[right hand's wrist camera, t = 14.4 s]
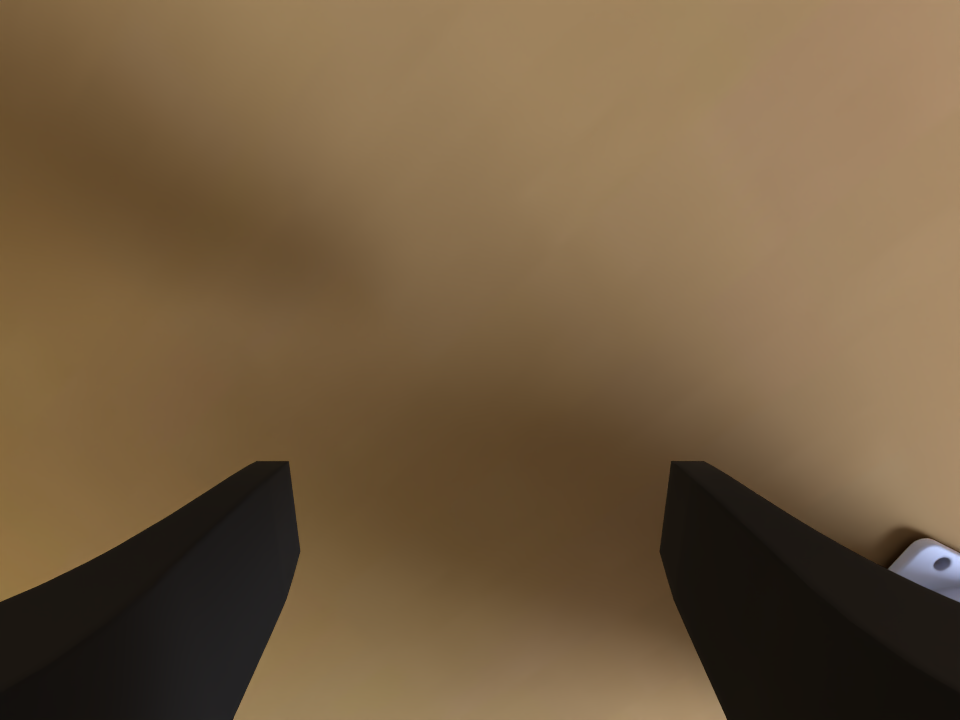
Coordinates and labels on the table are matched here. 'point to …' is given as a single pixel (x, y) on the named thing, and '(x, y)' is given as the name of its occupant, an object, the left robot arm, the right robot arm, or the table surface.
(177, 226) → the table surface
